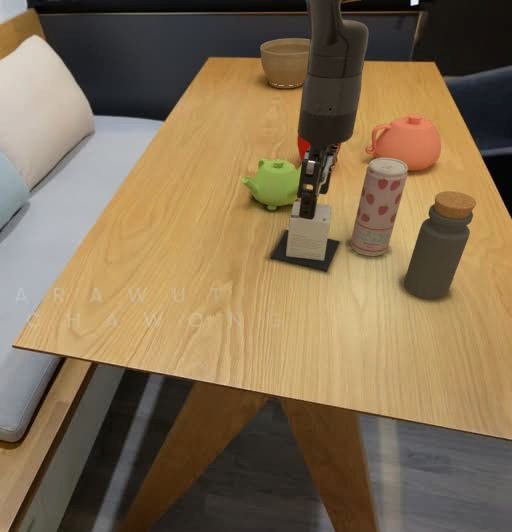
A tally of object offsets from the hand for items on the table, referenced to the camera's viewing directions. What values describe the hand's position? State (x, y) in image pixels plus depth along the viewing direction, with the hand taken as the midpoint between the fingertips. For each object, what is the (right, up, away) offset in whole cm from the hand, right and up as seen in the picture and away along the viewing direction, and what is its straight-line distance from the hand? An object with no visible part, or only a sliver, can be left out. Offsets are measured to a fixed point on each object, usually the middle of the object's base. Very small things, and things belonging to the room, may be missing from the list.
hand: (313, 204), depth 82 cm
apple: (+11, +11, +29) cm, 33 cm away
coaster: (+1, -7, +5) cm, 9 cm away
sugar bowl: (+28, +12, +27) cm, 41 cm away
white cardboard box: (+1, -7, +5) cm, 9 cm away
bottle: (+15, -13, -4) cm, 20 cm away
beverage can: (+11, -7, +5) cm, 14 cm away
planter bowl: (+20, +44, +72) cm, 87 cm away
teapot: (0, +3, +19) cm, 19 cm away
